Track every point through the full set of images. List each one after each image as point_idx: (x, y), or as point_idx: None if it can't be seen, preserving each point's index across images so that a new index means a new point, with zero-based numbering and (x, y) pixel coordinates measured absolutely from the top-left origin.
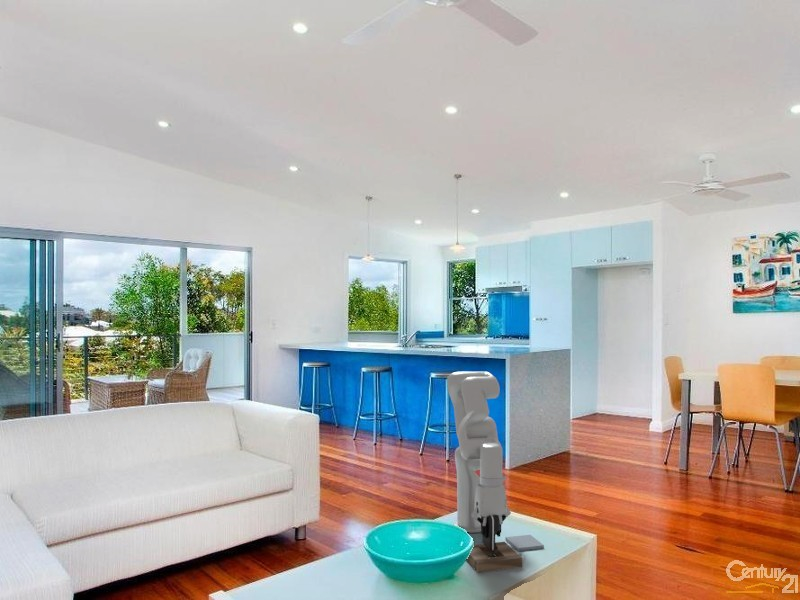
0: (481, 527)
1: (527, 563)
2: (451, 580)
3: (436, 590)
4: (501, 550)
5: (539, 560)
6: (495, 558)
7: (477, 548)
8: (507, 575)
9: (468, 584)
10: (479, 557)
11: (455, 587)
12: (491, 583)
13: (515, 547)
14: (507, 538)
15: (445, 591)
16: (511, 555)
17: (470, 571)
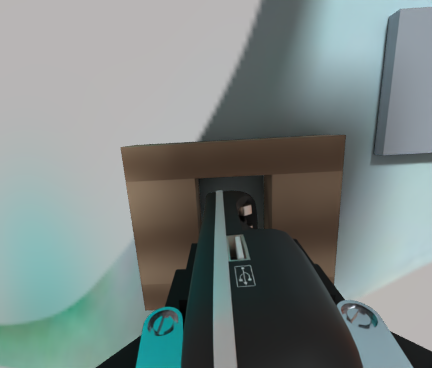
0: (168, 304)
1: (347, 258)
2: (62, 314)
3: (13, 355)
4: (282, 228)
5: (402, 246)
6: None
7: (184, 187)
8: None
9: (108, 343)
10: (165, 271)
11: (68, 350)
12: None
13: (381, 131)
14: (401, 28)
15: (37, 363)
16: None
17: (134, 274)
